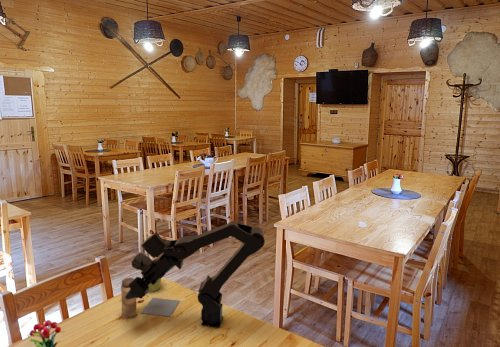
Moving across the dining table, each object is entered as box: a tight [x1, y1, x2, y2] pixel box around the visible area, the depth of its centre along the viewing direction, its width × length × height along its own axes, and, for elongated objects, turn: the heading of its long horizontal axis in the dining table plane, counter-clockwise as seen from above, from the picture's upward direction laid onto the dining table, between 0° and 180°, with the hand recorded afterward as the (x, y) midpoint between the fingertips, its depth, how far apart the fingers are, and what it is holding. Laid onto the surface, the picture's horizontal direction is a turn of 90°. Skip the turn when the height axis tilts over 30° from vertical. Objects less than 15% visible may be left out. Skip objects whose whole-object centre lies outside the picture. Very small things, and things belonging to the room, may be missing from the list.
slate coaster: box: [140, 297, 181, 318], centre depth 142 cm, size 11×11×1 cm
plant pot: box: [139, 270, 162, 292], centre depth 155 cm, size 9×9×9 cm
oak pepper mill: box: [120, 277, 138, 319], centre depth 135 cm, size 5×5×13 cm
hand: (132, 291), depth 135 cm, fingers open, 9 cm apart
